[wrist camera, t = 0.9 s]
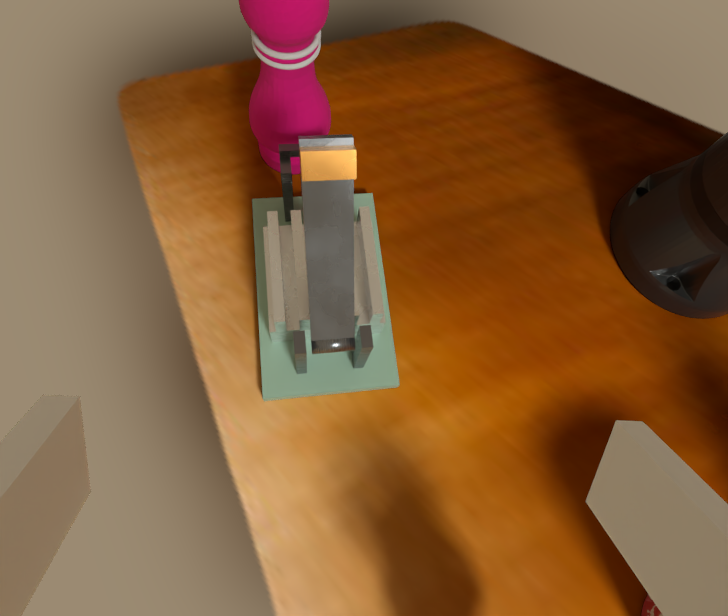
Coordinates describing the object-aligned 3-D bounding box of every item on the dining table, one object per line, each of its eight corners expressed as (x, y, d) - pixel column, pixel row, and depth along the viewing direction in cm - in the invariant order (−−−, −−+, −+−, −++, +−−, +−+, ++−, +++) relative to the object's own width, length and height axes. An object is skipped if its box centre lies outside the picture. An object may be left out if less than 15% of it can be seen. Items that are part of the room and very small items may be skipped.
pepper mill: (280, 192, 46) (260, -4, 27) (240, 136, 48) (195, -86, 29) (343, 158, 48) (365, -46, 29) (303, 106, 50) (299, -120, 31)
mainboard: (397, 387, 41) (399, 384, 40) (264, 401, 40) (262, 398, 39) (370, 199, 47) (372, 193, 46) (253, 205, 45) (251, 198, 44)
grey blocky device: (384, 365, 41) (402, 339, 33) (274, 376, 39) (265, 351, 32) (362, 198, 45) (373, 141, 38) (263, 203, 44) (254, 145, 37)
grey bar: (352, 343, 36) (357, 361, 34) (311, 346, 35) (313, 365, 34) (350, 133, 28) (356, 142, 26) (298, 134, 28) (299, 143, 26)
